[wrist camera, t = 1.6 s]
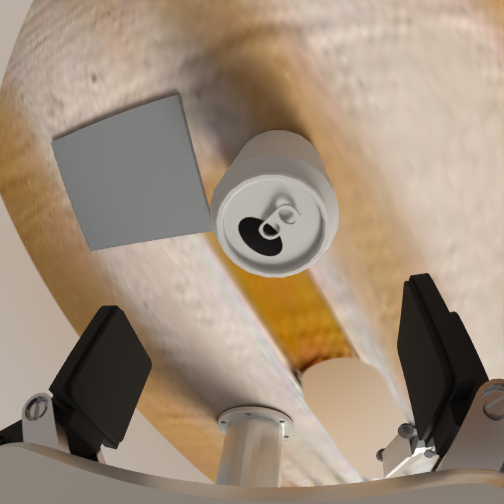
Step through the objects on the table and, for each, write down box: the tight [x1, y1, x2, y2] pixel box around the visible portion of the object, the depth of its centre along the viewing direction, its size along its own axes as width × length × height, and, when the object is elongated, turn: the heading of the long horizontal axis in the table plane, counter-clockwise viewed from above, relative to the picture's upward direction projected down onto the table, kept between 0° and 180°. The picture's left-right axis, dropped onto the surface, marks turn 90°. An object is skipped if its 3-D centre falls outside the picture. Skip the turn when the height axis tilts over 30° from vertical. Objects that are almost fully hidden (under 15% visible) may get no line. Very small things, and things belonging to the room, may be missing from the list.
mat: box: [51, 94, 213, 251], centre depth 29 cm, size 13×15×1 cm
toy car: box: [376, 423, 437, 477], centre depth 44 cm, size 18×10×12 cm
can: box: [210, 130, 339, 277], centre depth 22 cm, size 8×8×12 cm
